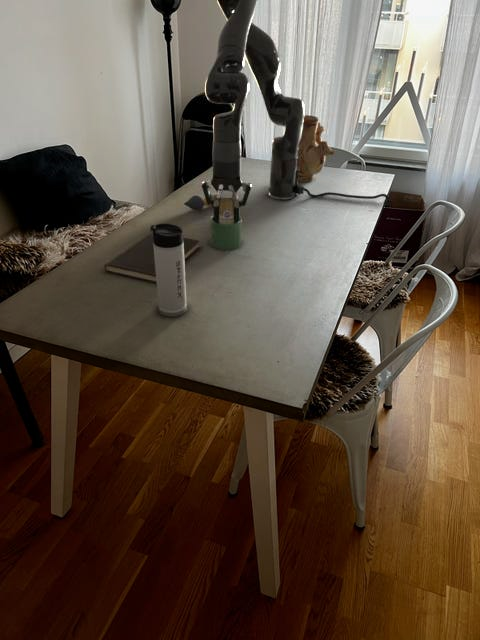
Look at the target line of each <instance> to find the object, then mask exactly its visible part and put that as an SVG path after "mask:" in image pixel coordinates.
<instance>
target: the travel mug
mask: <svg viewBox="0 0 480 640" xmlns="http://www.w3.org/2000/svg"><path fill="white" fill-rule="evenodd" d="M149 230H150V231H149V232H150V233H151V232H153V245H154V246H153V247H154V258H155V270H156V281H157V283H156V294H157V303H158V311H159V313H160V314H161V315H163V316H164V317H170V318H171V317H172V318H173V317H179V316H182V315H184V314H185V313H186V311H187V309H188V307H187V306H188V305H187V284H186V282H187V281H186V264H185V263H186V261H184V241H183V238H184V231H183V229H182V228H181V227H180V226H179V225H177V224H176V225H175V224H171V223H157V224H155V225H154V224H152V225H151V226H150V228H149Z"/></svg>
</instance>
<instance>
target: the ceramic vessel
mask: <svg viewBox="0 0 480 640" xmlns="http://www.w3.org/2000/svg"><path fill="white" fill-rule="evenodd" d="M319 119H320V118H319V117H318V116H314V115H309V114H305V113H304V121H303V128H302V135H301V140H300V142H299V148H298V159H297V170H298V171H299V174H298V182H299V181H300V182H311V181H313V180H314V178H315V175H317V174H319V173H321V172H322V171H323V168H324V166H325V163H326V157H331V156H333V155H335V151H334V150H333V149H332V148H330V145H329V143H328V141H325V140H322V134H323V132H324V131H325V127H324V126H323V125H321V122H319Z"/></svg>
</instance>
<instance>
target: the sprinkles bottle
mask: <svg viewBox="0 0 480 640" xmlns="http://www.w3.org/2000/svg"><path fill="white" fill-rule="evenodd" d="M234 207H235V205H234V202H233V200H232V192H231V191H229V190H222V191H221V195H220V200H219V224H234Z"/></svg>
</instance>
